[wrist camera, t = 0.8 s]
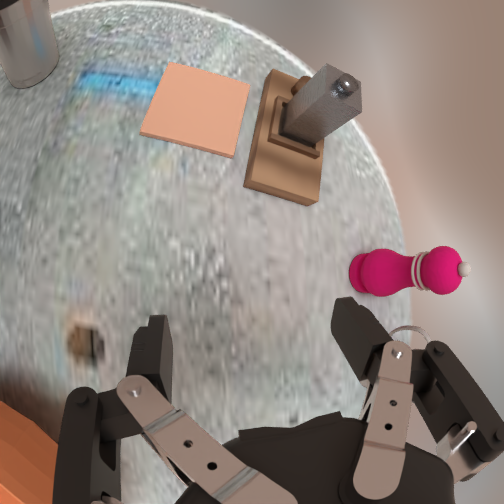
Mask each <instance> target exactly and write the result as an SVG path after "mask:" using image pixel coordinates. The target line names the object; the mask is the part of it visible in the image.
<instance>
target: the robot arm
mask: <svg viewBox="0 0 504 504" xmlns="http://www.w3.org/2000/svg"><path fill="white" fill-rule="evenodd" d="M58 60H59V52H58V48H57V44H56V39H55V34H54V30H53V25H52V20H51V14H50V9H49V3H48V0H0V63H1V65H2V67H3V70H4V72H5V73H6V75H7V77H8V79H9V81H10V83H11V85H12V86H14V87H16V88H27V87H30V86H33V85H35V84H37V83H39V82H40V81H42V80H43V79H44V78H46V77H47V76H48V75H49V74H50V73H51V72H52V71H53V69H54V68H55V67H56V65H57V63H58ZM331 332H332V335H333V337H334V338H335V340H336V342H337V343H338V345H339V347H340V349H341V350H342V352H343V354H344V356H345V357H346V359H347V361H348V362H349V364H350V366H351V368H352V369H353V371H354V373H355V375H356V376H357V378H358V380H359V381H363V380H366V379H368V380H369V382H370V383H369V385H368V388H367V391H366V395H365V399H364V402H363V406H362V409H361V412H360V415H359V418H358V419H355V418H346V417H342V415H341V413H340V411H338V412H334V413H330V414H326V415H322V416H318V417H315V418H313V419H311V420H309V421H307V422H305V423H303V424H300V425H298V426H296V427H293V428H281V427H260V428H253V429H245V430H238V431H239V437H238V438H235V439H232V440H230V441H228V442H227V443H225V444H223V445H221V444H219V443H218V442H217V441H216V440H215V439H214V438H212V437H211V436H210V435H209V434H208V433H207V432H206V431H205V430H203V429H202V428H201V427H200V426H199V425H198V424H197V423H196V422H195V421H194V420H193V419H191V418H190V417H189V416H188V415H187V414H186V413H185V412H184V411H182V410H176V409H175V408H174V407H173V406H172V405H171V402H172V363H173V345H172V338H171V334H170V329H169V324H168V319H167V315H150V318H149V323H148V327H140V328H139V329H138V330H137V331H136V333H135V334H134V337H133V342H132V347H131V352H130V357H129V362H128V367H127V373H126V377H125V378H123V379H122V380H121V381H120V382H119V383H118V385H117V388H115V389H113V390H110V391H106V392H102V393H96V392H95V391H94V390H93V389H92V388H89V387H79V388H76V389H74V390H73V391H72V392H71V393H70V394H69V395H68V397H67V401H66V405H65V410H64V415H63V420H62V425H61V431H60V437H59V443H58V450H57V457H56V465H55V473H54V484H53V497H52V504H123V503H122V502H121V484H120V447H121V439H122V438H126V437H130V436H134V435H137V434H141V436H142V437H143V438H144V439H145V441H146V442H147V443H148V444H149V445H150V447H151V448H152V449H153V450H154V451H155V452H156V453H157V455H158V456H159V457H160V458H161V459H162V460H163V461H164V463H165V464H166V465H167V466H168V467H169V469H170V470H171V471H172V472H173V473H174V474H175V475H176V477H177V478H178V479H179V480H180V481H181V482H182V483H183V484H184V485H185V486H186V487H187V489H186V490H185V491H184V493H183V494H182V495H181V496H180V498H179V499H178V500H177V501H176V503H175V504H455V500H454V484H455V483H457V482H458V481H462V482H463V481H467V480H469V479H471V478H472V477H473V476H474V475H476V474H477V473H478V472H480V471H481V470H482V469H483V468H485V467H486V466H487V465H488V464H490V463H491V462H492V461H493V460H494V459H495V458H497V457H498V456H499V455H500V454H501V453H502V452H503V451H504V422H503V421H502V419H501V418H500V416H499V415H498V413H497V412H496V410H495V409H494V407H493V406H492V404H491V403H490V402H489V400H488V398H487V397H486V396H485V394H484V393H483V391H482V390H481V389H480V387H479V386H478V385H477V383H476V382H475V381H474V379H473V378H472V377H471V375H470V374H469V372H468V371H467V370H466V369H465V367H464V366H463V365H462V363H461V362H460V361H459V359H458V358H457V357H456V356H455V354H454V353H453V352H452V351H451V349H450V348H449V347H448V346H447V345H446V344H444V343H443V342H440V341H431V342H429V343H428V344H427V346H426V348H425V350H411V348H410V347H409V346H408V345H407V344H405V343H403V342H401V341H394V340H393V339H392V338H391V336H390V335H389V334H388V333H387V331H386V330H385V329H384V327H383V326H382V325H381V324H380V323H379V321H378V320H377V319H376V318H375V316H374V315H373V314H372V312H371V311H370V310H369V309H367V308H366V307H364V306H362V305H358V304H357V302H356V301H355V300H354V298H353V297H344V298H337V299H336V301H335V304H334V310H333V315H332V320H331ZM436 381H438V382H439V384H440V385H441V387H442V388H443V390H444V392H445V398H444V397H443V395H442V394H441V392H440V391H439V389H438V387H437V386H436V384H435V383H436ZM412 400H413V401H414V403H415V405H416V407H417V408H418V410H419V412H420V414H421V416H422V417H423V419H424V421H425V423H426V425H427V426H428V428H429V430H430V432H431V434H432V435H433V437H434V439H435V441H436V443H437V446H436V454H437V455H436V456H435V455H433V454H431V453H429V452H426V451H424V450H422V449H420V448H418V447H415V446H413V445H411V444H409V443H407V442H405V441H406V436H407V430H408V424H409V417H410V410H411V403H412Z"/></svg>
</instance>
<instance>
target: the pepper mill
mask: <svg viewBox="0 0 504 504" xmlns="http://www.w3.org/2000/svg"><path fill="white" fill-rule="evenodd" d="M470 272H471V267H470V265H469V263H467V262H462V260H461V258H460V256H459V254H458V253H457V251H455V250H454V249H453V248H450V247H447V246H439V247H436V248H434V249H432V250H431V251H430V252H420V253H418V254H417V255H416V256H413V257H409V256H403V255H400V254H398V253H396V252H394V251H392V250H389V249H376V250H373V251H372V252H370V253H366V254H360V255H358V256H356V257H355V258H354V259H353V261H352V263H351V265H350V270H349V277H350V281H351V284H352V286H353V287H354V288H355V289H356V290H357V291H359V292H363V293H371V294H373V295H374V296H379V297H382V296H389V295H392V294H394V293H396V292H398V291H400V290H401V289H404V288H407V287H416V288H417V289H419V290H431V291H433V292H434V293H436V294H440V295H444V294H449V293H451V292H453V291H454V290H456V289H457V288H458V286H459V284H460V283H461V280H462V277H466V276H468V275H469V273H470Z"/></svg>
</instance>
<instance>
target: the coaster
mask: <svg viewBox="0 0 504 504" xmlns="http://www.w3.org/2000/svg"><path fill="white" fill-rule="evenodd" d="M249 89H250V85H249V84H246V83H243V82H240V81H237V80H234V79H231V78H228V77H225V76H221V75H218V74H215V73H211V72H208V71H204V70H201V69H197V68H193V67H189V66H185V65H181V64H177V63H173V62H169V64H168V66H167V68H166V70H165V72H164V74H163V76H162V78H161V81H160V83H159V85H158V87H157V90H156V92H155V94H154V97H153V99H152V101H151V104H150V106H149V109H148V111H147V114H146V116H145V119H144V121H143V124H142V127H141V129H140V135H143V136H147V137H152V138H156V139H160V140H164V141H169V142H173V143H177V144H181V145H185V146H188V147H192V148H196V149H200V150H203V151H207V152H211V153H214V154H218V155H221V156H225V157H228V158H232V157H233V156H234V152H235V148H236V143H237V139H238V135H239V130H240V126H241V122H242V117H243V113H244V109H245V105H246V101H247V97H248V93H249Z"/></svg>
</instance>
